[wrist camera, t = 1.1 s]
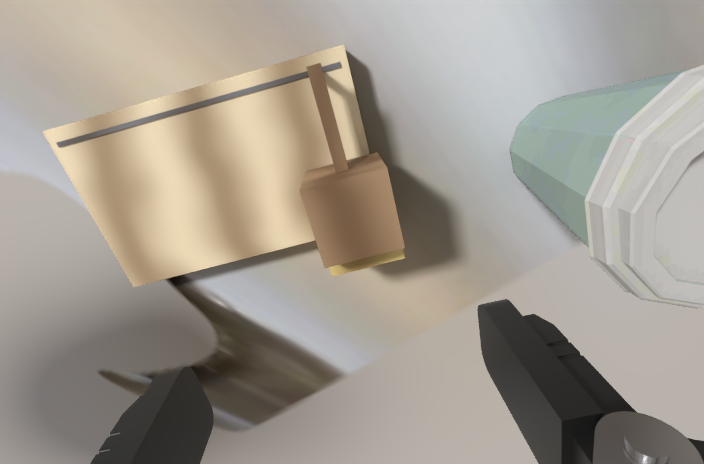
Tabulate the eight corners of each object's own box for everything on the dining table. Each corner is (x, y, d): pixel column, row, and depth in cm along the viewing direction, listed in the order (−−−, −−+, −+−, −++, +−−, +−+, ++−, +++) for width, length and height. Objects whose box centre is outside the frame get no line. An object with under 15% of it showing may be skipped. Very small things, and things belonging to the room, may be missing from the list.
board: (343, 47, 23) (343, 44, 21) (382, 213, 28) (386, 222, 26) (64, 128, 24) (41, 131, 23) (146, 274, 29) (132, 287, 27)
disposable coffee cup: (602, 206, 28) (855, 320, 15) (470, 217, 28) (599, 343, 14) (633, 60, 24) (1024, 27, 11) (478, 73, 24) (669, 55, 10)
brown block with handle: (353, 58, 23) (360, 48, 17) (393, 229, 28) (410, 270, 22) (281, 79, 23) (261, 76, 17) (332, 245, 28) (331, 290, 22)
